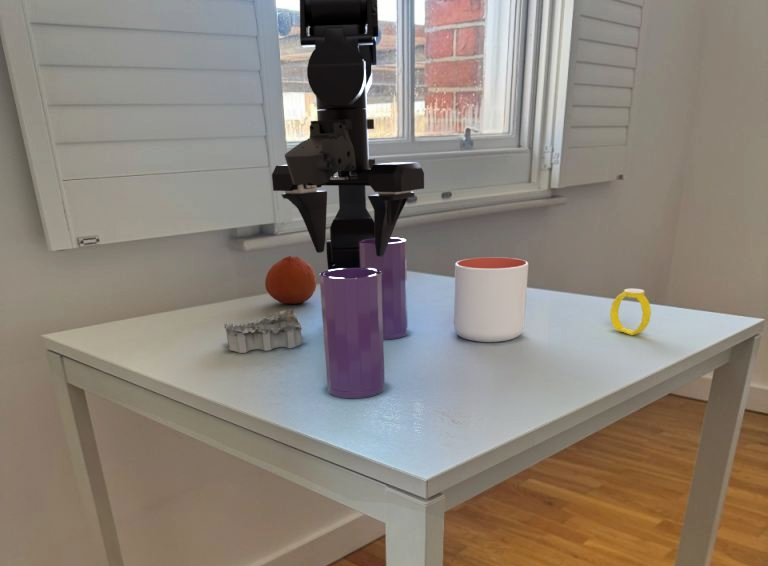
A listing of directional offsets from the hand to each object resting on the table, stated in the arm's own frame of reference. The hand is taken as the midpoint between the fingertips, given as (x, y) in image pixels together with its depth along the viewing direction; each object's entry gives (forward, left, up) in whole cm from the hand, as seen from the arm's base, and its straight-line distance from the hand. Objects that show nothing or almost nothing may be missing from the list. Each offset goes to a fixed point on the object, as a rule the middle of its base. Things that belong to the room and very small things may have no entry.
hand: (349, 254), depth 87 cm
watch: (+28, +28, -13) cm, 42 cm away
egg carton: (-15, -1, -13) cm, 20 cm away
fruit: (-30, +23, -13) cm, 40 cm away
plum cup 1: (+8, -11, -13) cm, 19 cm away
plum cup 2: (-3, +12, -13) cm, 18 cm away
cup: (+11, +18, -13) cm, 25 cm away
